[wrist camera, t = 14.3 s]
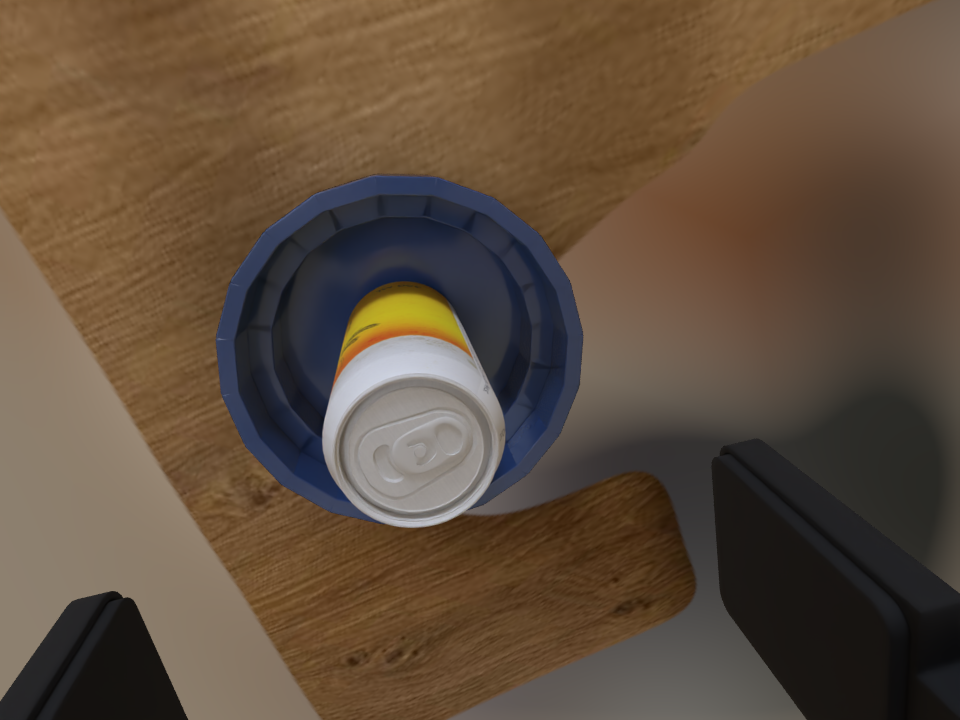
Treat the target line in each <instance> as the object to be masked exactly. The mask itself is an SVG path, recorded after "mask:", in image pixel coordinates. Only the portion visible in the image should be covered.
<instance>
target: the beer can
mask: <svg viewBox="0 0 960 720" xmlns="http://www.w3.org/2000/svg"><path fill="white" fill-rule="evenodd" d="M504 445H505V421H504V417H503V413H502V410H501V407H500V404H499V402H498V400H497V398H496V395H495V393H494V391H493V389H492V387H491V385H490V383H489V381H488V379H487V376H486V374H485V372H484V370H483V368H482V366H481V364H480V362H479V360H478V357H477V355H476V353H475V351H474V349H473V347H472V345H471V343H470V341H469V339H468V336H467V334H466V332H465V330H464V328H463V326H462V324H461V322H460V320H459V317H458V315H457V313H456V311H455V310H454V308H453V307H452V305H451V304H450V302H449V301H448V300H447V299H446V298H445V297H444V296H443V295H442V294H440V293H439V292H437V291H436V290H434V289H433V288H431V287H429V286H426V285H424V284H420V283H416V282H409V281H400V282H392V283H388V284H385V285H382V286H380V287H377V288H376V289H374V290H372V291H371V292H369V293H368V294H367V295H365V296H364V297H363V298H362V299H361V300H360V301H359V303H358V304H357V305H356V306H355V308H354V310H353V311H352V313H351V316H350V318H349V321H348V324H347V328H346V332H345V337H344V341H343V345H342V349H341V353H340V357H339V362H338V366H337V370H336V374H335V378H334V382H333V387H332V391H331V395H330V399H329V403H328V407H327V412H326V416H325V420H324V425H323V433H322V446H323V453H324V458H325V461H326V464H327V467H328V470H329V472H330V474H331V476H332V478H333V479H334V481H335V482H336V484H337V485H338V487H339V488H340V489H341V490H342V491H343V493H344V494H345V495H346V497H347V498H348V499H349V500H350V501H351V503H352V504H353V505H355V506H356V507H357V508H358V509H359V510H360V511H362V512H363V513H364V514H366V515H368V516H369V517H371V518H373V519H375V520H377V521H380V522H382V523H385V524H389V525H392V526H398V527H406V528H420V527H428V526H433V525H437V524H440V523H443V522H446V521H448V520H451V519H453V518H455V517H457V516H458V515H460V514H462V513H463V512H465V511H466V510H468V509H469V508H470V507H471V506H472V505H474V504H475V503H476V502H477V501H478V500H479V499H480V497H481V496H482V495H483V494H484V492H485V491H486V490H487V488H488V487H489V485H490V483H491V481H492V479H493V477H494V474H495V472H496V470H497V468H498V466H499V463H500V461H501V458H502V455H503V451H504Z"/></svg>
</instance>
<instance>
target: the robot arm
mask: <svg viewBox="0 0 960 720" xmlns="http://www.w3.org/2000/svg"><path fill="white" fill-rule="evenodd" d="M712 480H713V495H714V510H715V525H716V539H717V554H718V570H719V584H720V593H721V597H722V600H723V603H724V606H725V607H726V610H727V611H728V613H729V615H730V616H731V617H732V619H733V620H734V621H735V623H736V624H737V625H738V627H739V628H740V630H741V631H742V632H743V633H744V635H745V636H746V638H747V639H748V640H749V642H750V643H751V644H752V646H753V647H754V648H755V650H756V651H757V652H758V654H759V655H760V657H761V658H762V659H763V661H764V662H765V663H766V665H767V666H768V668H769V669H770V670H771V672H772V673H773V674H774V676H775V677H776V678H777V680H778V681H779V682H780V684H781V685H782V686H783V688H784V689H785V690H786V692H787V693H788V695H789V696H790V697H791V699H792V700H793V701H794V703H795V704H796V705H797V707H798V708H799V710H800V711H801V712H802V714H803V715H804V716H805V718H806V719H807V720H960V593H958V592H957V591H956V590H954V589H953V588H952V587H951V586H949V585H948V584H947V583H945V582H944V581H943V580H942V579H940V578H939V577H938V576H936V575H935V574H934V573H932V572H931V571H930V570H929V569H927V568H926V567H925V566H923V565H922V564H921V563H919V562H918V561H917V560H916V559H914V558H913V557H912V556H910V555H909V554H908V553H906V552H905V551H904V550H903V549H901V548H900V547H899V546H897V545H896V544H895V543H894V542H892V541H891V540H890V539H888V538H887V537H886V536H884V535H883V534H882V533H881V532H880V531H878V530H877V529H875V528H874V527H873V526H872V525H870V524H869V523H868V522H867V521H865V520H864V519H863V518H861V517H860V516H859V515H858V514H856V513H855V512H854V511H852V510H851V509H850V508H848V507H847V506H846V505H845V504H843V503H842V502H841V501H839V500H838V499H837V498H836V497H834V496H833V495H832V494H830V493H829V492H828V491H826V490H825V489H824V488H823V487H821V486H820V485H819V484H818V483H816V482H815V481H814V480H812V479H811V478H810V477H809V476H807V475H806V474H804V473H803V472H802V471H801V470H799V469H798V468H797V467H796V466H794V465H793V464H791V463H790V462H789V461H788V460H786V459H785V458H784V457H783V456H781V455H780V454H779V453H777V452H776V451H775V450H774V449H772V448H771V447H770V446H768V445H767V444H766V443H765V442H763V441H762V440H760V439H752V440H748V441H744V442H739V443H735V444H731V445H727V446H723V448H721V451H720V456H719V457H715V458H714V459H713V460H712ZM0 720H188V718H187V716H186V714H185V712H184V710H183V707H182V705H181V703H180V701H179V699H178V696H177V694H176V692H175V690H174V687H173V685H172V683H171V681H170V679H169V676H168V674H167V673H166V670H165V668H164V666H163V663H162V661H161V659H160V656H159V654H158V652H157V650H156V648H155V645H154V643H153V641H152V639H151V636H150V634H149V632H148V630H147V628H146V626H145V623H144V621H143V619H142V617H141V614H140V612H139V610H138V608H137V606H136V604H135V602H134V601H133V600H132V599H131V598H128V597H127V598H123V597H122V595H120V594H119V593H118V592H115V591H110V592H106V593H102V594H98V595H94V596H89V597H85V598H81V599H77V600H74V601H72V602H71V603H70V604H69V605H68V606H67V607H66V609H65V610H64V612H63V613H62V614H61V616H60V617H59V619H58V620H57V621H56V623H55V624H54V626H53V627H52V629H51V630H50V631H49V633H48V634H47V636H46V637H45V639H44V640H43V641H42V643H41V644H40V646H39V647H38V648H37V650H36V651H35V653H34V654H33V656H32V657H31V658H30V660H29V661H28V663H27V664H26V665H25V667H24V668H23V670H22V671H21V673H20V674H19V676H18V677H17V678H16V680H15V681H14V683H13V684H12V686H11V687H10V688H9V690H8V691H7V693H6V694H5V696H4V697H3V698H2V700H1V701H0Z"/></svg>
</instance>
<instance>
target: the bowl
mask: <svg viewBox="0 0 960 720" xmlns="http://www.w3.org/2000/svg"><path fill="white" fill-rule="evenodd" d="M400 281H409V282H416V283H420V284H424V285H426V286H429V287H431V288H433V289H434V290H436V291H437V292H439V293H440V294H442V295H443V296H444V297H445V298H446V299H447V300H448V301H449V302H450V304H451V305H452V307H453V308H454V310H455V311H456V313H457V315H458V317H459V320H460V322H461V324H462V326H463V328H464V330H465V332H466V334H467V336H468V339H469V341H470V343H471V345H472V347H473V349H474V351H475V353H476V355H477V357H478V360H479V362H480V364H481V366H482V368H483V370H484V372H485V374H486V376H487V379H488V381H489V383H490V385H491V387H492V389H493V391H494V393H495V395H496V398H497V400H498V402H499V404H500V407H501V410H502V413H503V417H504V421H505V445H504V451H503V455H502V458H501V461H500V463H499V466H498V468H497V470H496V472H495V474H494V477H493V479H492V481H491V483H490V485H489V487H488V488H487V490H486V491H485V492H484V494H483V495H482V496H481V497H480V499H479V500H478V501H477V502H476V503H475V504H474V505H472V506H471V507H470V508H469V509H473V508H475V507H479V506H481V505H484V504H486V503H487V502H488V501H490V500H491V499H493V498H494V497H496V496H497V495H499V494H500V493H502V492H503V491H505V490H506V489H507V488H509V487H510V486H512V485H513V484H515V483H516V482H518V481H519V480H521V479H522V478H523V477H525V476H526V475H527V474H528V473H529V472H530V471H531V470H532V468H533V467H534V466H535V465H536V464H537V462H538V461H539V460H540V459H541V457H542V456H543V455H544V454H545V452H546V451H547V450H548V449H549V448H550V446H551V445H552V444H553V443H554V441H555V440H556V439H557V438H558V436H559V434H560V433H561V431H562V428H563V426H564V423H565V421H566V418H567V416H568V414H569V411H570V409H571V406H572V403H573V401H574V399H575V396H576V393H577V391H578V389H579V385H580V373H581V360H582V346H583V331H582V327H581V323H580V319H579V315H578V311H577V306H576V302H575V299H574V295H573V290H572V286H571V283H570V280H569V279H568V277H567V276H566V274H565V272H564V271H563V269H562V268H561V266H560V265H559V263H558V262H557V260H556V258H555V257H554V255H553V254H552V252H551V251H550V249H549V247H548V246H547V244H546V243H545V241H544V240H543V238H542V237H541V235H539V233H538V232H536V231H535V230H534V229H533V228H531V227H530V226H529V225H528V224H526V223H525V222H524V221H523V220H521V219H520V218H519V217H518V216H516V215H515V214H514V213H513V212H511V211H510V210H509V209H508V208H506V207H505V206H504V205H503V204H501V203H500V202H499V201H498V200H496V199H495V198H493V197H491V196H488V195H485V194H482V193H480V192H477V191H474V190H471V189H469V188H466V187H463V186H460V185H458V184H455V183H452V182H449V181H447V180H444V179H441V178H438V177H435V176H430V175H410V174H373V175H370V176H367V177H364V178H360V179H357V180H354V181H351V182H348V183H344V184H341V185H338V186H335V187H331V188H328V189H325V190H323V191H321V192H318V193H316V194H314V195H312V196H311V197H309V198H308V199H307V200H305V201H304V202H303V203H301V204H300V205H299V206H297V207H296V208H294V209H293V210H292V211H290V212H289V213H288V214H286V215H285V216H284V217H282V218H281V219H280V220H278V221H277V222H275V223H274V224H273V225H271V226H270V227H269V228H267V229H266V230H265V232H263V233H262V235H261V236H260V238H259V239H258V240H257V242H256V243H255V245H254V246H253V248H252V249H251V251H250V252H249V254H248V255H247V257H246V258H245V260H244V261H243V263H242V264H241V266H240V267H239V269H238V270H237V271H236V273H235V274H234V276H233V277H232V279H231V282H230V283H229V287H228V291H227V295H226V299H225V303H224V307H223V311H222V315H221V319H220V322H219V326H218V330H217V334H216V348H217V358H218V368H219V378H220V389H221V394H222V398H223V400H224V402H225V404H226V406H227V408H228V410H229V413H230V415H231V417H232V419H233V421H234V423H235V426H236V428H237V430H238V432H239V434H240V436H241V438H242V441H243V443H244V444H245V447H246V448H247V449H248V450H249V451H250V452H251V453H252V454H253V455H254V456H255V457H256V458H257V459H258V460H259V462H260V463H261V464H262V465H263V466H264V467H265V468H266V469H267V470H268V471H269V472H270V473H271V474H272V475H273V476H274V477H275V479H276V480H277V481H278V482H279V483H280V484H281V485H283V486H284V487H286V488H288V489H290V490H291V491H293V492H295V493H297V494H299V495H300V496H302V497H304V498H306V499H307V500H309V501H311V502H313V503H315V504H316V505H318V506H320V507H322V508H323V509H325V510H327V511H330V512H331V513H336V514H340V515H344V516H349V517H353V518H357V519H362V520H366V521H370V522H375V523H379V524H385V523H382V522H380V521H377V520H375V519H373V518H371V517H369V516H368V515H366V514H364V513H363V512H362V511H360V510H359V509H358V508H357V507H356V506H355V505H353V504H352V503H351V501H350V500H349V499H348V498H347V497H346V495H345V494H344V493H343V491H342V490H341V489H340V488H339V487H338V485H337V484H336V482H335V481H334V479H333V478H332V476H331V474H330V472H329V470H328V467H327V464H326V461H325V458H324V453H323V446H322V433H323V425H324V420H325V416H326V412H327V407H328V403H329V399H330V395H331V391H332V387H333V382H334V378H335V374H336V370H337V366H338V362H339V357H340V353H341V349H342V345H343V341H344V337H345V332H346V328H347V324H348V321H349V318H350V316H351V313H352V311H353V310H354V308H355V306H356V305H357V304H358V303H359V301H360V300H361V299H362V298H363V297H364V296H365V295H367V294H368V293H369V292H371V291H372V290H374V289H376V288H377V287H380V286H382V285H385V284H388V283H392V282H400ZM469 509H468V510H469ZM466 511H467V510H466Z"/></svg>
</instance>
